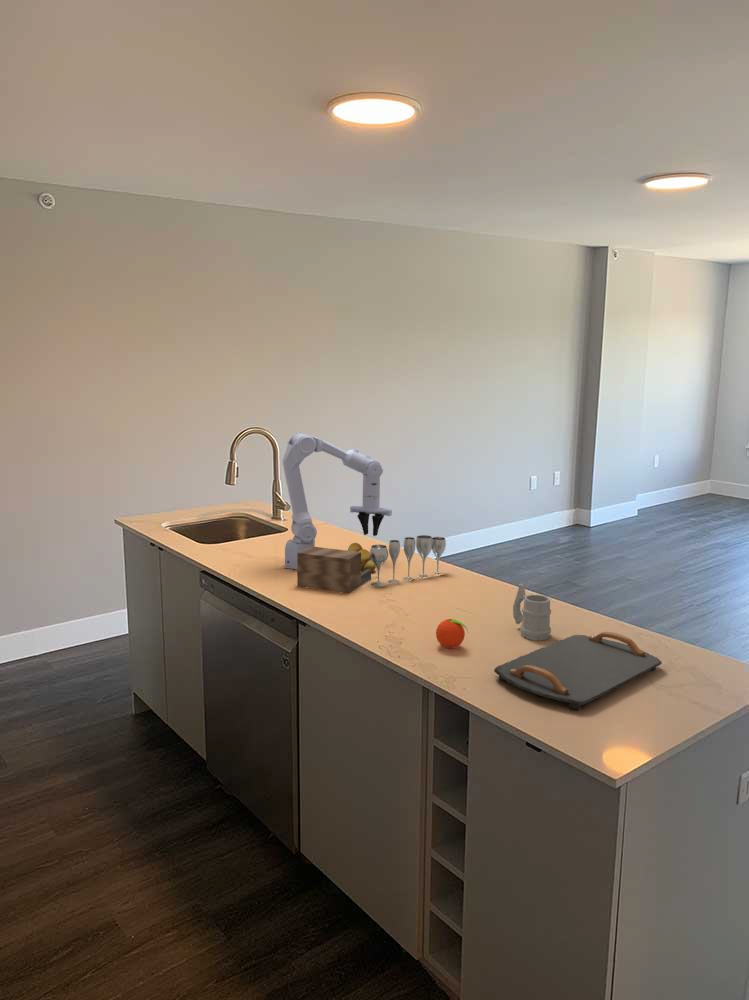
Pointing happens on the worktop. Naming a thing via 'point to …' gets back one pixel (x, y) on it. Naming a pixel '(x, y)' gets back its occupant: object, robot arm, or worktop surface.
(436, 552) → the goblet set
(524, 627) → the mug
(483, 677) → the worktop surface
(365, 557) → the bread roll
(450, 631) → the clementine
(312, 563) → the walnut shelf
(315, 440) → the robot arm
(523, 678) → the serving board
